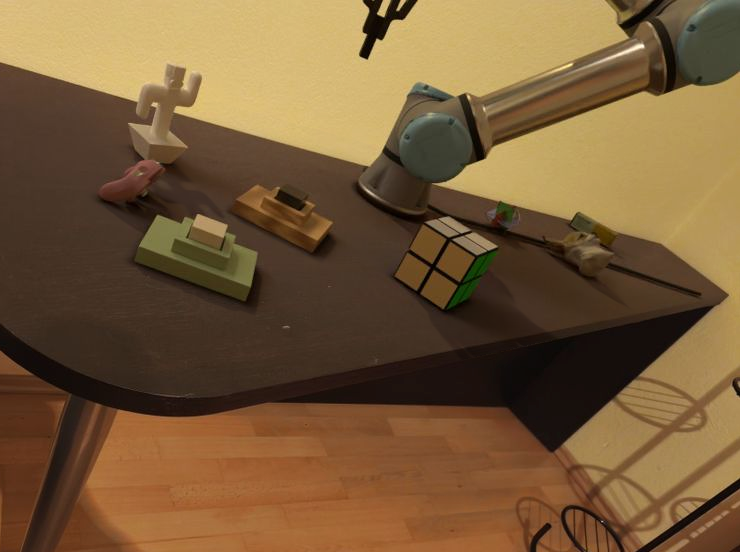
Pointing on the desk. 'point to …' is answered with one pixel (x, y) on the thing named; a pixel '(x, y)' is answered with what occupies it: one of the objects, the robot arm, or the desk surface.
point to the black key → (292, 196)
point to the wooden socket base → (282, 217)
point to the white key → (208, 232)
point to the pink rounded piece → (133, 182)
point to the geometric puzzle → (504, 216)
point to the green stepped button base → (198, 258)
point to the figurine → (163, 114)
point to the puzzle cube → (445, 262)
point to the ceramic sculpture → (581, 251)
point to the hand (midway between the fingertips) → (363, 56)
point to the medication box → (593, 228)
